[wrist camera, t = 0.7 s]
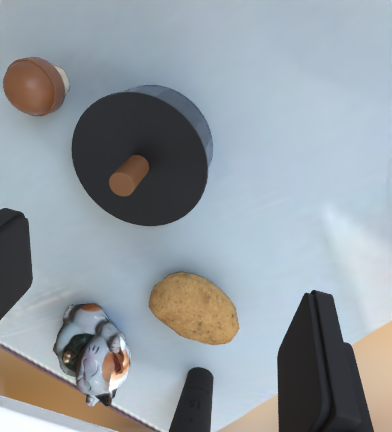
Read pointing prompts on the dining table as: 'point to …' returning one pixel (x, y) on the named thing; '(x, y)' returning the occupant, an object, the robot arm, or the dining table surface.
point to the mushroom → (35, 86)
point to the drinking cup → (194, 403)
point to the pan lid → (140, 158)
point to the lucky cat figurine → (92, 352)
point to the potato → (194, 308)
